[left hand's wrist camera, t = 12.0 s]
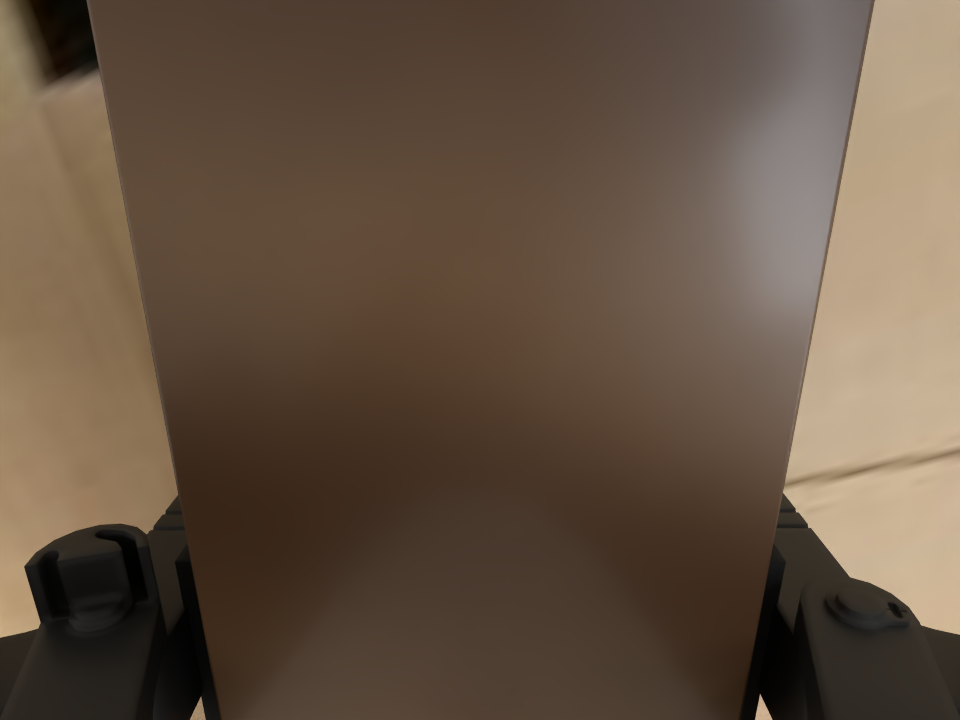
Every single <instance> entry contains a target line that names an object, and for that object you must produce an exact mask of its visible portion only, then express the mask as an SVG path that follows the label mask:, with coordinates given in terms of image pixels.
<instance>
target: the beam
mask: <svg viewBox="0 0 960 720" xmlns="http://www.w3.org/2000/svg"><path fill="white" fill-rule="evenodd" d="M874 1H875V0H87V5H88V10H89V16H90V21H91V26H92V32H93V37H94V43H95V48H96V53H97V59H98V64H99V70H100V75H101V80H102V86H103V91H104V96H105V102H106V107H107V113H108V118H109V123H110V129H111V134H112V139H113V145H114V150H115V156H116V161H117V166H118V172H119V177H120V182H121V188H122V193H123V199H124V204H125V209H126V215H127V220H128V226H129V231H130V236H131V242H132V247H133V252H134V258H135V263H136V269H137V274H138V279H139V285H140V290H141V295H142V301H143V306H144V312H145V317H146V322H147V328H148V333H149V338H150V344H151V349H152V355H153V360H154V365H155V371H156V376H157V382H158V387H159V392H160V398H161V403H162V408H163V414H164V419H165V425H166V430H167V435H168V441H169V446H170V451H171V457H172V462H173V468H174V473H175V478H176V484H177V489H178V494H179V500H180V505H181V511H182V516H183V521H184V527H185V532H186V538H187V543H188V548H189V554H190V559H191V564H192V570H193V575H194V581H195V586H196V591H197V597H198V602H199V607H200V613H201V618H202V624H203V629H204V634H205V640H206V645H207V650H208V656H209V661H210V667H211V672H212V677H213V683H214V688H215V694H216V699H217V704H218V710H219V715H220V720H740V719H741V714H742V709H743V703H744V698H745V693H746V687H747V682H748V676H749V671H750V666H751V660H752V655H753V650H754V644H755V639H756V634H757V628H758V623H759V617H760V612H761V607H762V601H763V596H764V591H765V585H766V580H767V575H768V569H769V564H770V558H771V553H772V548H773V542H774V537H775V532H776V526H777V521H778V516H779V510H780V505H781V500H782V494H783V489H784V483H785V478H786V473H787V467H788V462H789V457H790V451H791V446H792V441H793V435H794V430H795V424H796V419H797V414H798V408H799V403H800V398H801V392H802V387H803V382H804V376H805V371H806V366H807V360H808V355H809V349H810V344H811V339H812V333H813V328H814V323H815V317H816V312H817V307H818V301H819V296H820V290H821V285H822V280H823V274H824V269H825V264H826V258H827V253H828V248H829V242H830V237H831V232H832V226H833V221H834V215H835V210H836V205H837V199H838V194H839V189H840V183H841V178H842V173H843V167H844V162H845V156H846V151H847V146H848V140H849V135H850V130H851V124H852V119H853V114H854V108H855V103H856V98H857V92H858V87H859V81H860V76H861V71H862V65H863V60H864V55H865V49H866V44H867V39H868V33H869V28H870V22H871V17H872V12H873V6H874Z"/></svg>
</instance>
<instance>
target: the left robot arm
mask: <svg viewBox="0 0 960 720" xmlns="http://www.w3.org/2000/svg"><path fill="white" fill-rule="evenodd" d="M795 510H796V509H795V508H794V506H793V505H792V504H791V502H790V501H789V500H788V499H787V497H786V496H785V495H784V494H782V500H781V505H780V510H779V516H778V521H777V526H776V532H775V537H774V542H773V548H772V553H771V558H770V564H769V569H768V575H767V580H766V585H765V591H764V596H763V601H762V607H761V612H760V617H759V623H758V628H757V634H756V639H755V644H754V650H753V655H752V660H751V666H750V671H749V676H748V682H747V687H746V693H745V698H744V703H743V709H742V714H741V719H740V720H755V716H756V711H757V706H758V701H759V696H760V694H761V696H762V698H763V701H764V703H765V705H766V707H767V709H768V711H769V713H770V715H771V717H772V719H773V720H960V635H958V634H953V633H948V632H944V631H939V630H935V629H931V628H928V627H924V626H921V625H920V622H919V621H918V619H917V618H916V617H915V615H914V614H913V612H912V611H911V610H910V608H909V607H908V606H907V605H905V604H904V603H903V602H901V601H900V600H899V599H898V598H896V597H895V596H894V595H892V594H891V593H889V592H887V591H885V590H883V589H881V588H879V587H877V586H875V585H873V584H871V583H868V582H864V581H861V580H857V579H854V578H850V577H849V576H848V574H847V573H846V572H845V571H844V569H843V568H842V567H841V566H840V564H839V563H838V562H837V560H836V559H835V558H834V557H833V555H832V554H831V553H830V552H829V550H828V549H827V548H826V547H825V545H824V544H823V543H822V542H821V540H820V539H819V538H818V537H817V535H816V534H815V533H814V531H813V530H812V529H811V528H808V524H807V523H806V521H805V520H804V519H803V518H802V516H801V515H800V514H799V513H796V511H795ZM24 568H25V571H26V574H27V578H28V581H29V585H30V588H31V591H32V595H33V598H34V601H35V605H36V608H37V612H38V615H39V618H40V622H41V624H40V626H39V628H38V629H36V630H32V631H29V632H25V633H20V634H16V635H11V636H7V637H2V638H0V720H190V718H191V716H192V714H193V712H194V710H195V707H196V705H197V703H198V701H199V699H200V697H202V702H203V707H204V713H205V718H206V720H220V715H219V710H218V704H217V699H216V694H215V688H214V683H213V677H212V672H211V667H210V661H209V656H208V650H207V645H206V640H205V634H204V629H203V624H202V618H201V613H200V607H199V602H198V597H197V591H196V586H195V581H194V575H193V570H192V564H191V559H190V554H189V548H188V543H187V538H186V532H185V527H184V521H183V516H182V511H181V505H180V500H179V495H178V496H177V497H176V499H175V500H174V501H173V502H172V504H171V505H170V506H169V507H168V509H167V510H166V514H165V515H162V516H161V518H160V519H159V520H158V521H157V523H156V524H155V525H154V529H153V530H150V532H149V533H148V534H147V535H146V534H145V533H144V532H143V531H141V530H140V529H139V528H138V527H134V526H129V525H124V524H108V525H98V526H94V527H90V528H86V529H82V530H78V531H75V532H72V533H70V534H68V535H65V536H63V537H61V538H59V539H56V540H54V541H53V542H51V543H50V544H48V545H47V546H45V547H44V548H42V549H41V550H39V551H38V552H36V553H35V554H34V556H33V557H32V558H31V559H30V560H29V562H28V563H27V564H26V565H25V566H24Z"/></svg>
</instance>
